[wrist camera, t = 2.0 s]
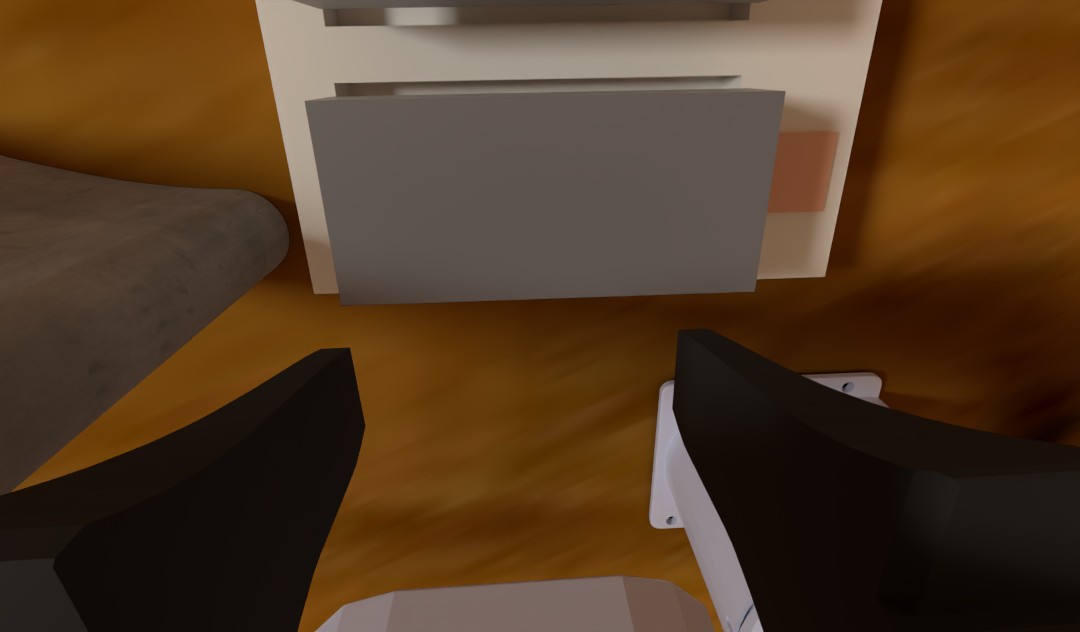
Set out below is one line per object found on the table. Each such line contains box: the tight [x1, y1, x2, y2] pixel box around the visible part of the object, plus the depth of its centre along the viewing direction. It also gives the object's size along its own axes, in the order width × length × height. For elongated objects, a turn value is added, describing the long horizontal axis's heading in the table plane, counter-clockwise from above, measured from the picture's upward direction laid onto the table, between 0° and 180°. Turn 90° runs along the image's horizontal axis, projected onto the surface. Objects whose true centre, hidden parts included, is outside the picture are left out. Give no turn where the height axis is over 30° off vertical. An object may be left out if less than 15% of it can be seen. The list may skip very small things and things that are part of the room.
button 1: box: [305, 88, 786, 306], centre depth 15 cm, size 11×5×2 cm, turn 91°
